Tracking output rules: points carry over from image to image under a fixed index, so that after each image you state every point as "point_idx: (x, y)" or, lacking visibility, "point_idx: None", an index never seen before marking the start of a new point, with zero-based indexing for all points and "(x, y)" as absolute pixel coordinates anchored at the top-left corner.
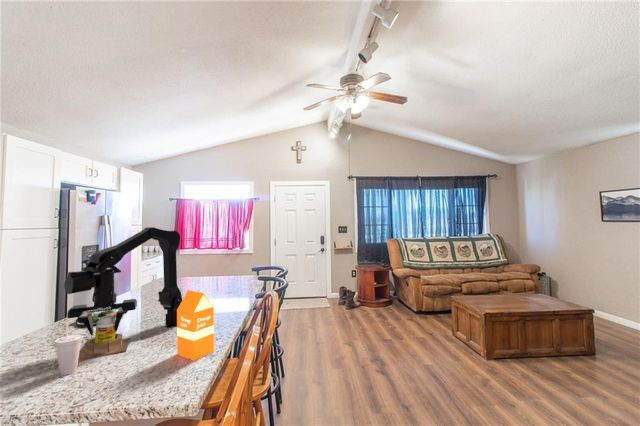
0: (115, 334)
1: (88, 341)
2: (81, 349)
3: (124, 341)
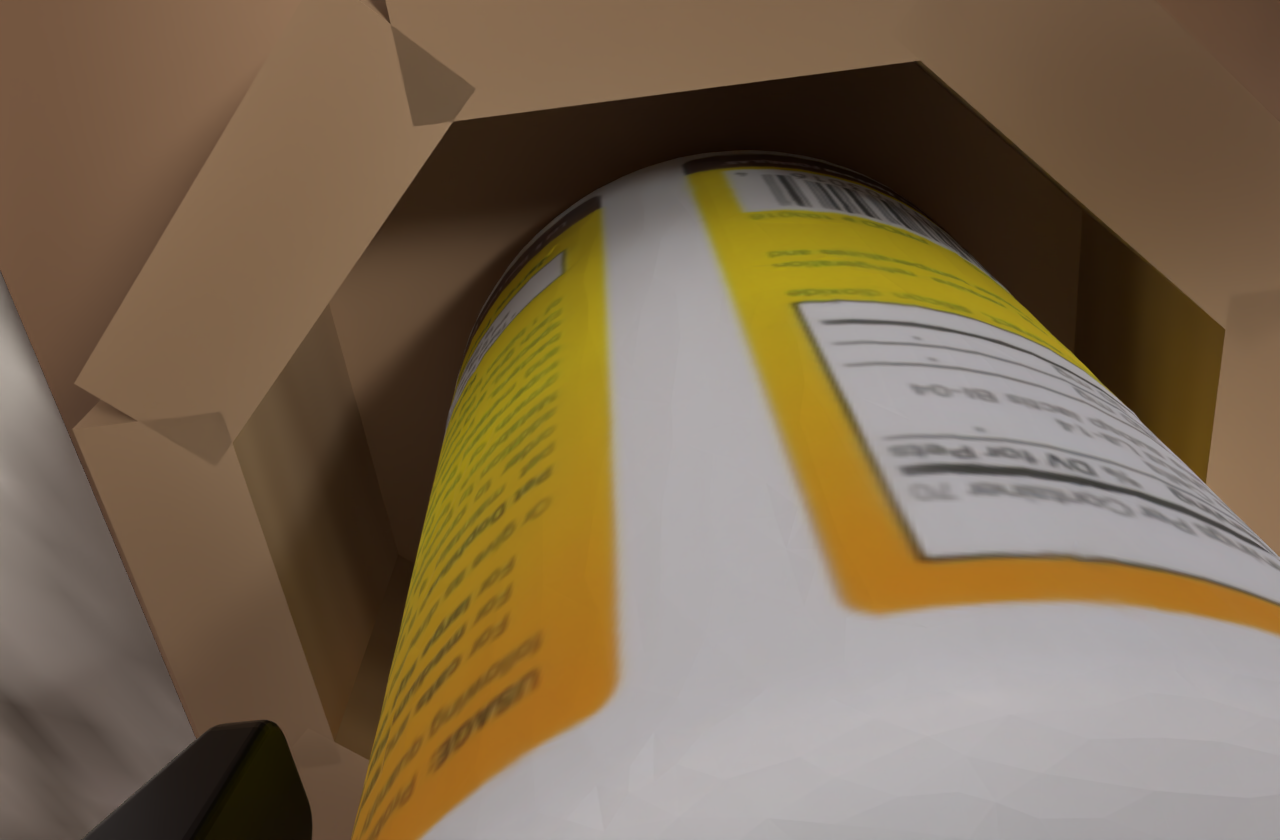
0: (1098, 137)
1: (225, 605)
2: (33, 278)
3: (1278, 6)
